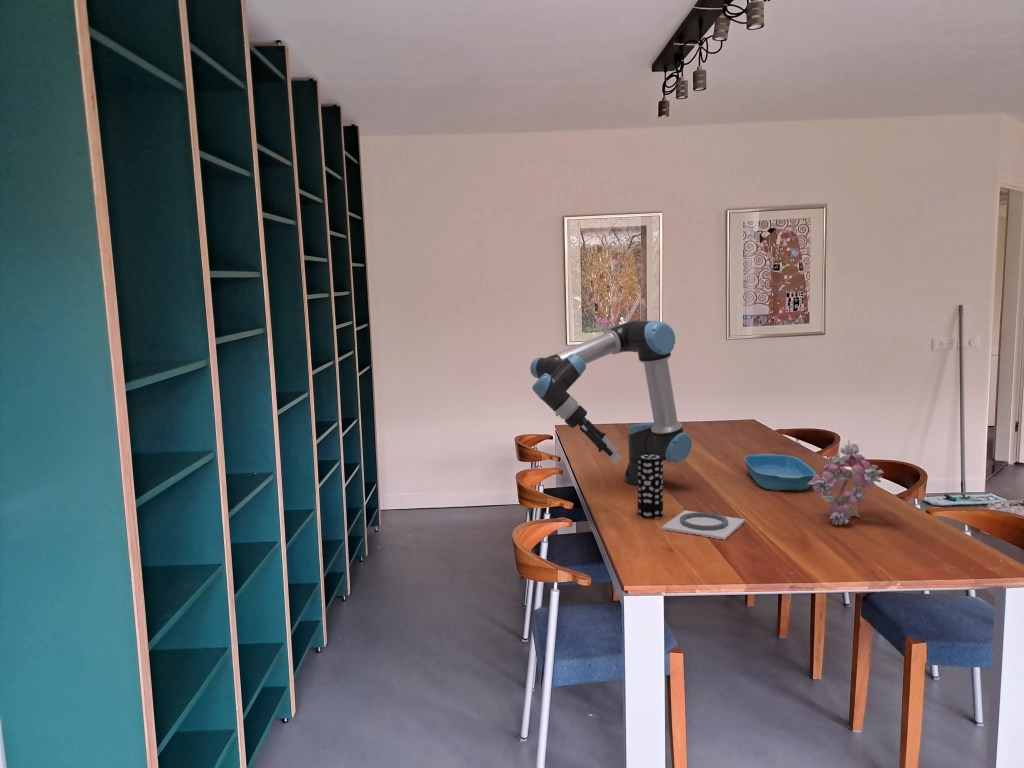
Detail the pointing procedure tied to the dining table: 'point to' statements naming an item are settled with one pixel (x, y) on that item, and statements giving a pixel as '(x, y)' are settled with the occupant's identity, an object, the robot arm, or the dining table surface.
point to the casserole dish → (779, 471)
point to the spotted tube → (650, 486)
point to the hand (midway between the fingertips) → (617, 456)
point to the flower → (845, 483)
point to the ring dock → (704, 524)
